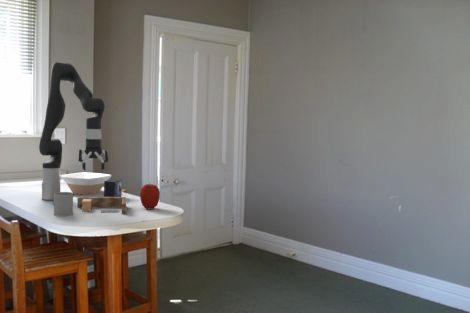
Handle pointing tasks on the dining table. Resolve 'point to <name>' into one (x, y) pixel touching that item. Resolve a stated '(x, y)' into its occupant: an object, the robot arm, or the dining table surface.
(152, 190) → the apple
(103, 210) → the pad
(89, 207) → the block
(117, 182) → the small box
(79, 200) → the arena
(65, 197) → the cup
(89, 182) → the bowl
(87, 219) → the dining table surface
